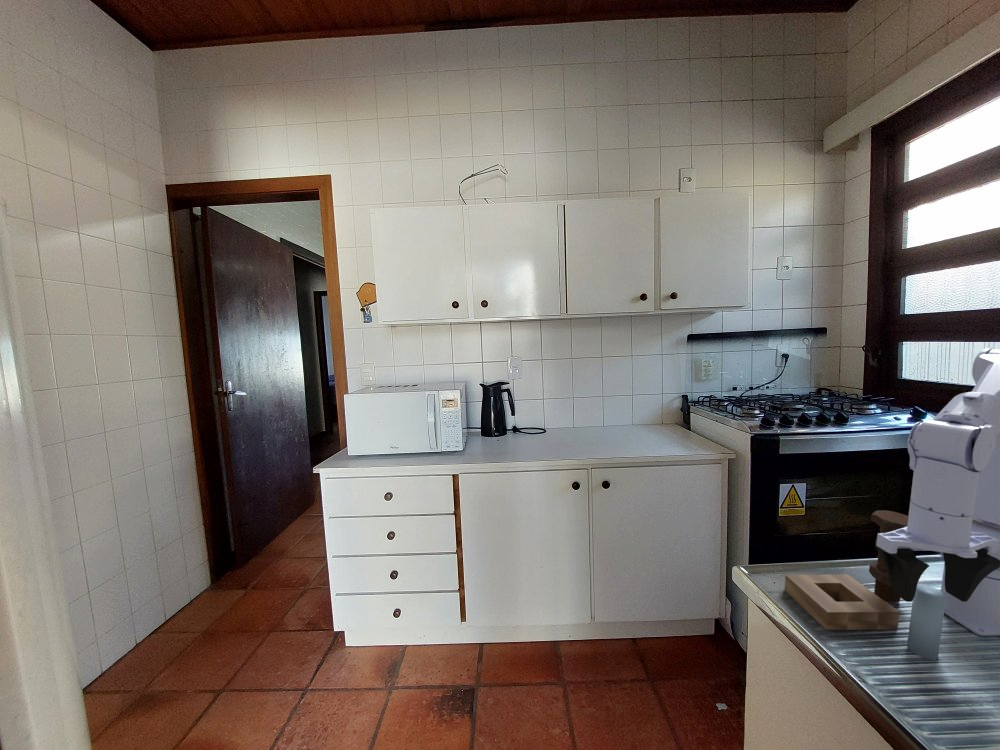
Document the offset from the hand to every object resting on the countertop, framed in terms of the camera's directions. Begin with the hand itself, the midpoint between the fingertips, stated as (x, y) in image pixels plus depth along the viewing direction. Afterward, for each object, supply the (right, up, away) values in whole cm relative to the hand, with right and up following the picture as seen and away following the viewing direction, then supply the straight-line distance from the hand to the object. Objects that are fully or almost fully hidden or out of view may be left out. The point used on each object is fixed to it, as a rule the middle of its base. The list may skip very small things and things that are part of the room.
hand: (929, 596), depth 54 cm
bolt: (+6, -7, +12) cm, 15 cm away
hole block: (-5, -8, +10) cm, 13 cm away
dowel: (0, -9, +1) cm, 9 cm away
